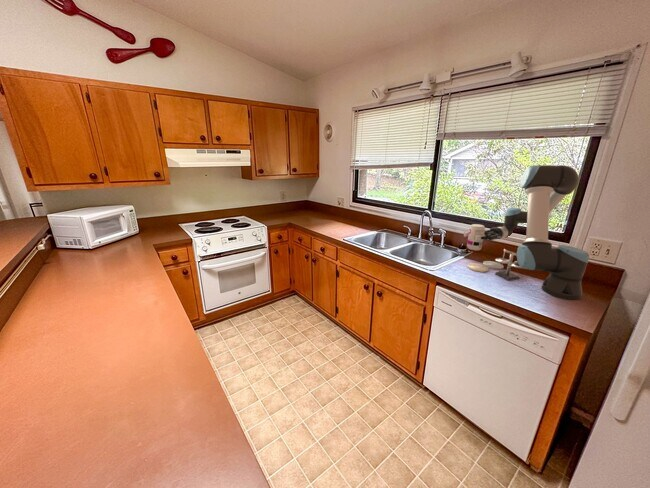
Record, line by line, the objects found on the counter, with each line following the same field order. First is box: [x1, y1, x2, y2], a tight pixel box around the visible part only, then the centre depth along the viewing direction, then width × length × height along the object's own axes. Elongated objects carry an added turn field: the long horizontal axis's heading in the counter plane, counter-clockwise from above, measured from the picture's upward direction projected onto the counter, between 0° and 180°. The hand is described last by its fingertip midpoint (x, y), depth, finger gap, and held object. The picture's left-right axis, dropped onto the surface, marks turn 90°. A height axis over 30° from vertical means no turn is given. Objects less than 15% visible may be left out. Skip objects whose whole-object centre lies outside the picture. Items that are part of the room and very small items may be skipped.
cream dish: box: [467, 262, 490, 273], centre depth 161 cm, size 11×11×1 cm
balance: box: [494, 249, 523, 281], centre depth 147 cm, size 8×19×17 cm, turn 109°
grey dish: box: [482, 260, 504, 270], centre depth 164 cm, size 11×11×1 cm
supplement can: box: [466, 223, 486, 251], centre depth 167 cm, size 8×8×15 cm
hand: (470, 236), depth 165 cm, fingers closed on supplement can, 8 cm apart
